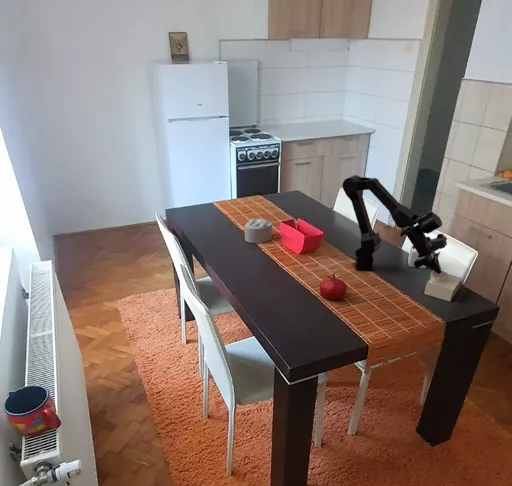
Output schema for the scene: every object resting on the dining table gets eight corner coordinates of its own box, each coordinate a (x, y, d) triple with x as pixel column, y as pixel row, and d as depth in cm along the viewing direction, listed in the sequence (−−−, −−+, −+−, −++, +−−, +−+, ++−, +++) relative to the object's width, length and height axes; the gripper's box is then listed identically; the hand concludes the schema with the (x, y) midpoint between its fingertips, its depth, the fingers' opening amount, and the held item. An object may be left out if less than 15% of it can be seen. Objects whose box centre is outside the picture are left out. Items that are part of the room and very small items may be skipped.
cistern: (422, 293, 183) (426, 277, 179) (432, 281, 192) (436, 265, 189) (450, 301, 178) (454, 285, 174) (458, 289, 187) (463, 273, 184)
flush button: (432, 278, 183) (434, 273, 182) (435, 275, 186) (436, 270, 185) (442, 281, 181) (443, 276, 180) (444, 278, 184) (445, 273, 183)
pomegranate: (338, 305, 172) (342, 282, 167) (314, 297, 177) (317, 275, 172) (349, 294, 180) (352, 272, 175) (325, 287, 184) (328, 265, 179)
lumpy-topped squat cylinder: (274, 238, 224) (275, 221, 219) (254, 245, 216) (255, 227, 212) (259, 232, 230) (259, 215, 226) (239, 238, 222) (239, 221, 218)
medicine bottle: (425, 268, 202) (432, 243, 196) (408, 266, 203) (415, 241, 197) (424, 262, 208) (430, 236, 202) (407, 260, 209) (413, 234, 203)
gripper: (429, 236, 169) (452, 272, 170) (443, 222, 183) (465, 255, 183) (403, 250, 177) (426, 285, 178) (419, 236, 190) (440, 268, 191)
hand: (440, 273), depth 182 cm, fingers closed, pressing on flush button
